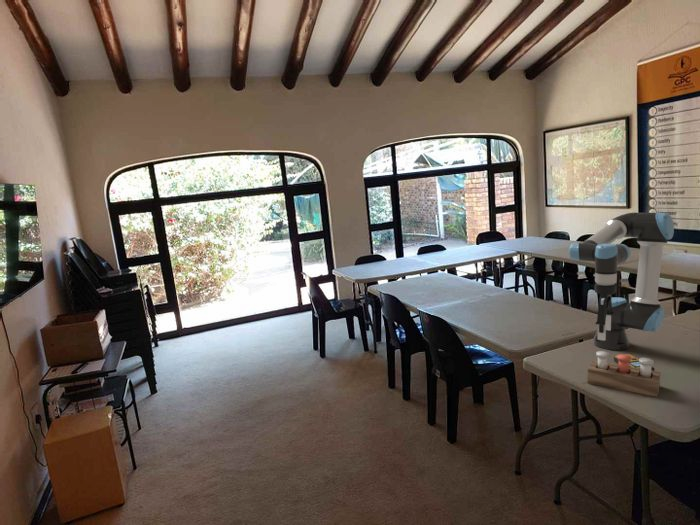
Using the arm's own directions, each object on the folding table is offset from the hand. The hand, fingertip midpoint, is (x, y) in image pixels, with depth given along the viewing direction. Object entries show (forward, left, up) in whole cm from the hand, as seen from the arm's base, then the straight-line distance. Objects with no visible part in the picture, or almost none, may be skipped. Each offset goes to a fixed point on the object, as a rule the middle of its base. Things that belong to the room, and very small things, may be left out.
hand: (604, 334), depth 186 cm
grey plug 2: (0, +15, -16) cm, 21 cm away
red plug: (0, +7, -16) cm, 17 cm away
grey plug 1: (0, 0, -16) cm, 16 cm away
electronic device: (-20, +8, -21) cm, 30 cm away
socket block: (0, +7, -20) cm, 21 cm away
